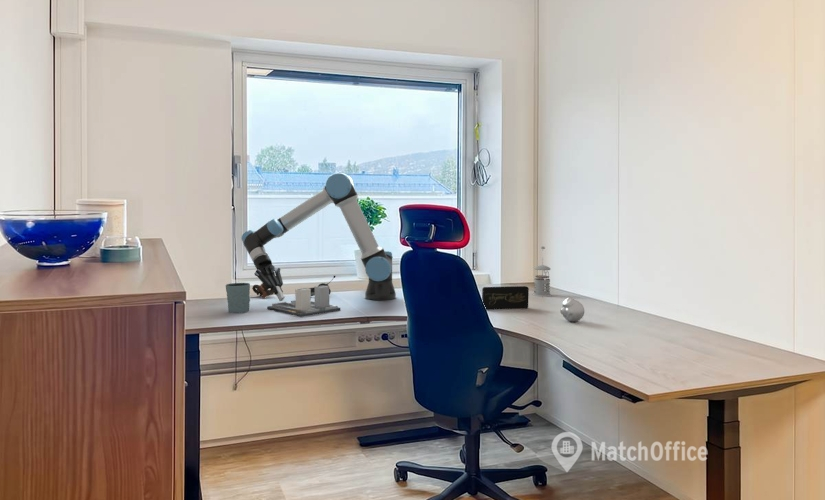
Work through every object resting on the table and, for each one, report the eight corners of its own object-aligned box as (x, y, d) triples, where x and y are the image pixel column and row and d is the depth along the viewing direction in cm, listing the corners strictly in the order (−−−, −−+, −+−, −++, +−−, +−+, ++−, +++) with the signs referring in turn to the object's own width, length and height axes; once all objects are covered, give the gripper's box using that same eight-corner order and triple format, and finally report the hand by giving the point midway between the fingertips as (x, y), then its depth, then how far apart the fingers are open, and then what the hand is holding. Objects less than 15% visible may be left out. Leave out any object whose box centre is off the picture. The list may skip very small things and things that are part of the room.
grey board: (267, 309, 263) (267, 304, 263) (306, 303, 278) (306, 298, 278) (300, 317, 246) (300, 311, 246) (340, 310, 261) (340, 305, 261)
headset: (336, 276, 297) (295, 282, 293) (338, 295, 298) (298, 301, 294) (334, 273, 310) (295, 278, 307) (336, 291, 311) (297, 296, 308)
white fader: (295, 309, 254) (295, 288, 254) (305, 308, 258) (305, 287, 257) (301, 311, 252) (300, 289, 251) (310, 309, 255) (310, 288, 254)
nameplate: (483, 310, 264) (483, 287, 263) (482, 309, 266) (482, 287, 265) (528, 308, 268) (528, 286, 267) (526, 307, 269) (527, 286, 269)
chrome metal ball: (558, 319, 244) (558, 294, 243) (581, 319, 243) (582, 295, 242) (561, 323, 235) (562, 298, 234) (586, 324, 234) (586, 299, 233)
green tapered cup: (249, 313, 254) (248, 285, 253) (224, 314, 252) (223, 286, 251) (251, 309, 264) (251, 282, 263) (227, 309, 262) (227, 282, 261)
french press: (529, 295, 304) (530, 246, 302) (538, 292, 313) (539, 245, 311) (547, 297, 298) (548, 247, 296) (556, 294, 308) (557, 246, 306)
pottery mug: (276, 295, 304) (279, 282, 300) (272, 306, 296) (274, 293, 291) (253, 289, 303) (255, 277, 298) (248, 300, 294) (250, 287, 290)
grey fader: (314, 307, 261) (314, 286, 261) (323, 305, 265) (323, 285, 264) (320, 308, 259) (320, 287, 258) (329, 306, 262) (329, 285, 262)
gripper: (269, 263, 282) (291, 302, 272) (245, 265, 273) (266, 306, 263) (276, 252, 278) (297, 292, 268) (251, 254, 269) (272, 295, 259)
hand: (282, 299), depth 265 cm, fingers closed
